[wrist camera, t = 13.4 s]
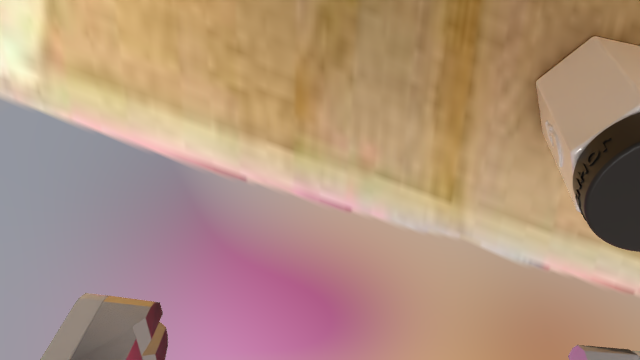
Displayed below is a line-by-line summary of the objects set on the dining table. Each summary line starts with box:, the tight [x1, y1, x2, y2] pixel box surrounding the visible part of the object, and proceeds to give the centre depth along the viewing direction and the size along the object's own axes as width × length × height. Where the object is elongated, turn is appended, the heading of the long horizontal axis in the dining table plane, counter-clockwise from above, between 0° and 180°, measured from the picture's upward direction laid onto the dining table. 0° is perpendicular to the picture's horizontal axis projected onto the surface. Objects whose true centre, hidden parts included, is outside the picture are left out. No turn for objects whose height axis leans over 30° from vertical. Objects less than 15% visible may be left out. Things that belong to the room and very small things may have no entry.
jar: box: [536, 36, 640, 252], centre depth 33 cm, size 9×8×12 cm
